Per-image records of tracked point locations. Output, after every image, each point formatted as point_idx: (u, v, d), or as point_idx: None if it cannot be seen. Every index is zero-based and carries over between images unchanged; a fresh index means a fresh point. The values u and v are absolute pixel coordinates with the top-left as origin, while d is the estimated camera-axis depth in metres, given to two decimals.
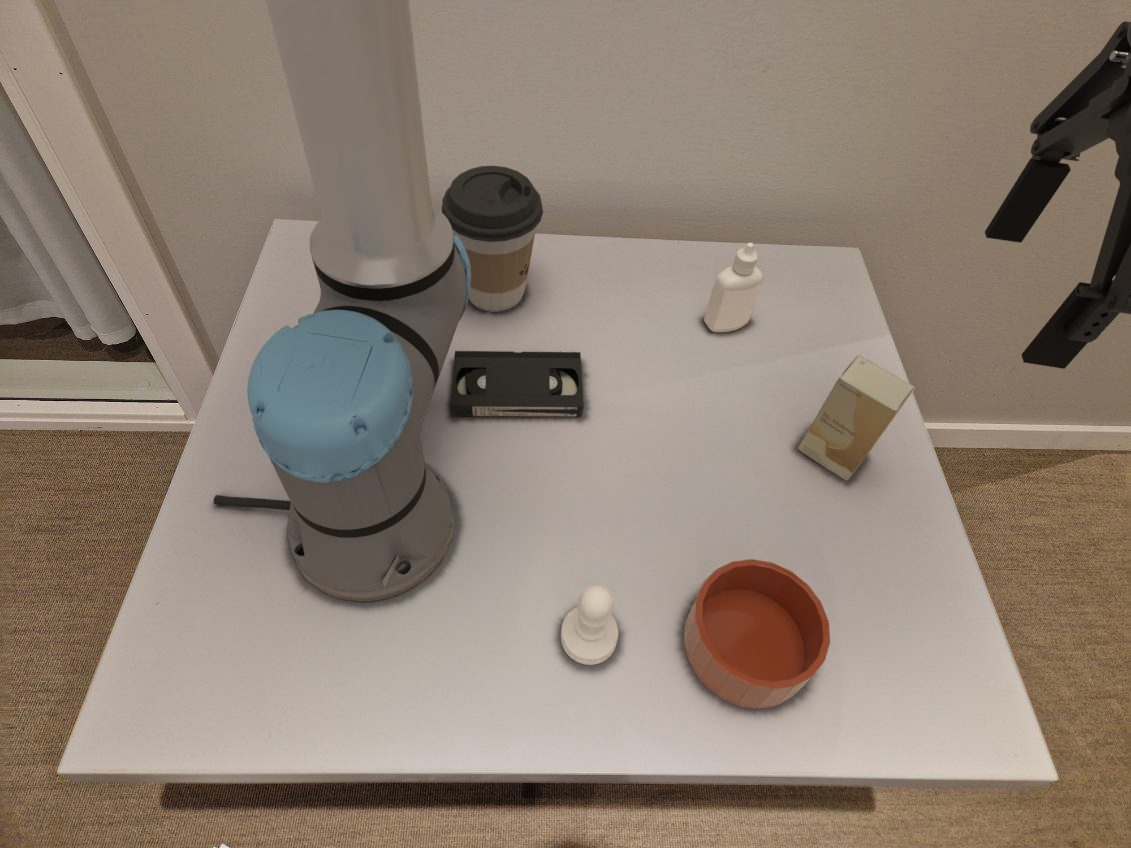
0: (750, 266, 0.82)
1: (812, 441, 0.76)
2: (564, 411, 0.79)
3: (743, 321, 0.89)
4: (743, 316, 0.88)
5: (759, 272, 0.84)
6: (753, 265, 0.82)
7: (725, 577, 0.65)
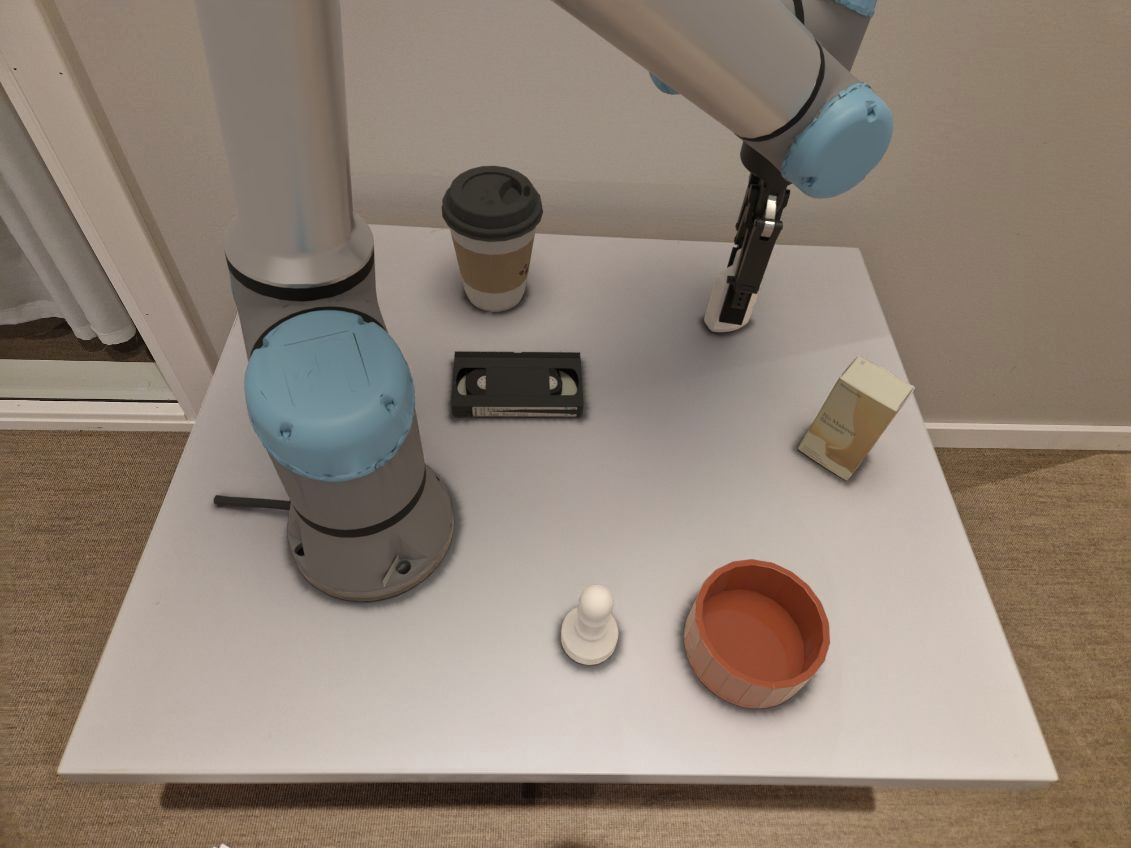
0: None
1: (812, 441, 0.76)
2: (564, 411, 0.79)
3: (743, 321, 0.89)
4: None
5: None
6: None
7: (725, 577, 0.65)
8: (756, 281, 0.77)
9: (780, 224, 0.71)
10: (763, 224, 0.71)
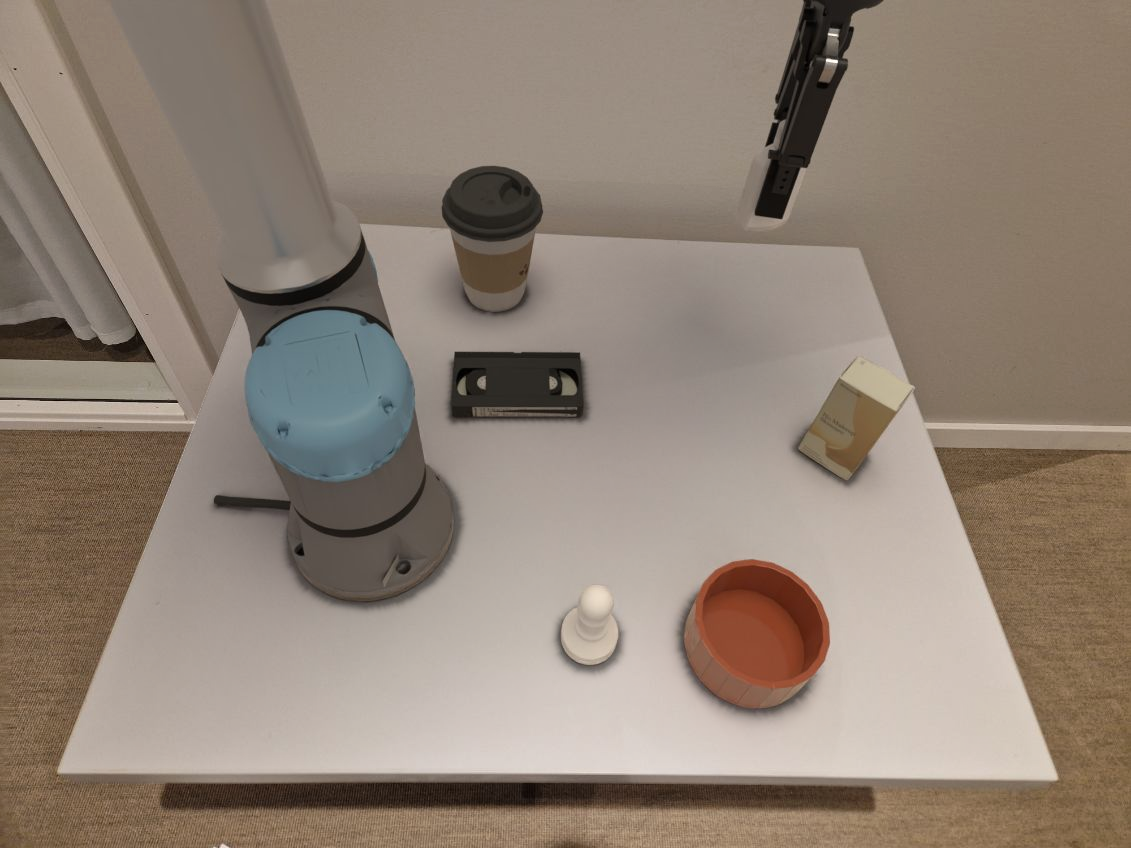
0: None
1: (812, 441, 0.76)
2: (564, 411, 0.79)
3: (782, 218, 0.74)
4: None
5: None
6: None
7: (725, 577, 0.65)
8: (807, 148, 0.62)
9: (845, 62, 0.56)
10: (824, 63, 0.56)
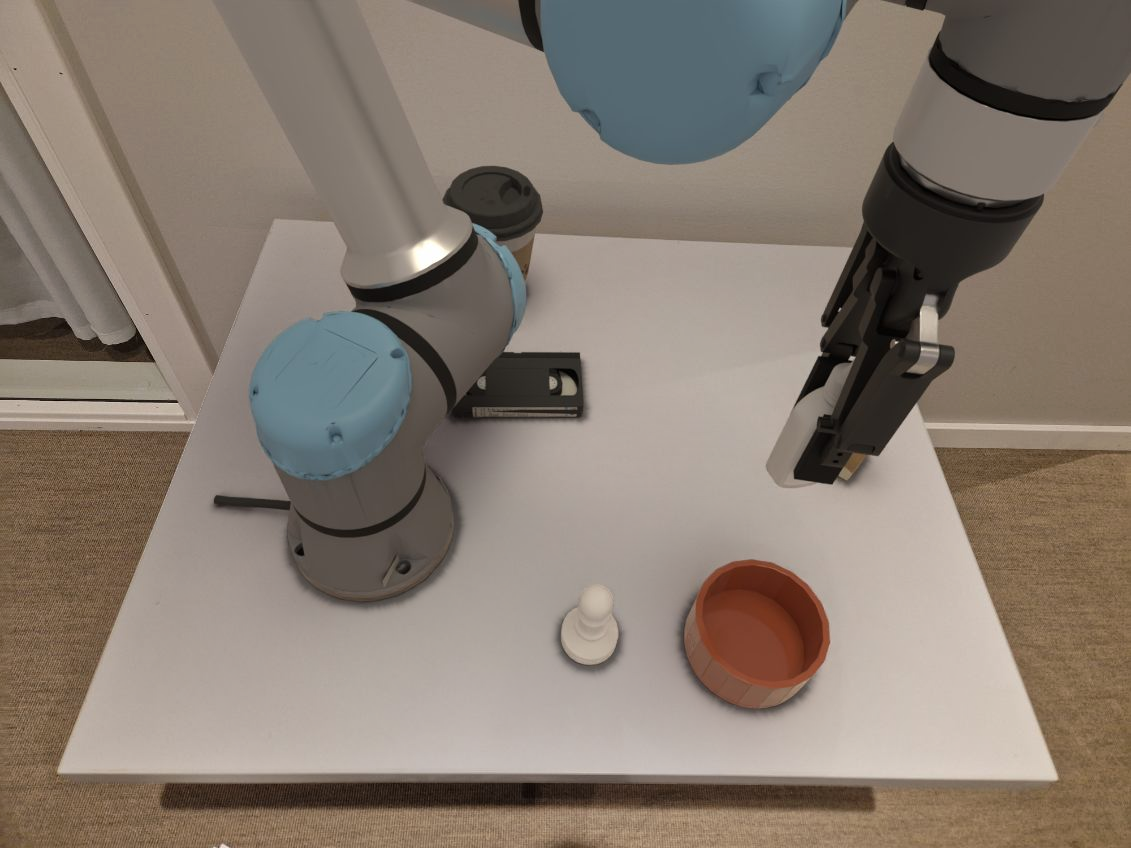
0: None
1: None
2: (564, 411, 0.79)
3: None
4: None
5: None
6: None
7: (725, 577, 0.65)
8: (880, 438, 0.42)
9: (951, 354, 0.36)
10: (917, 355, 0.36)
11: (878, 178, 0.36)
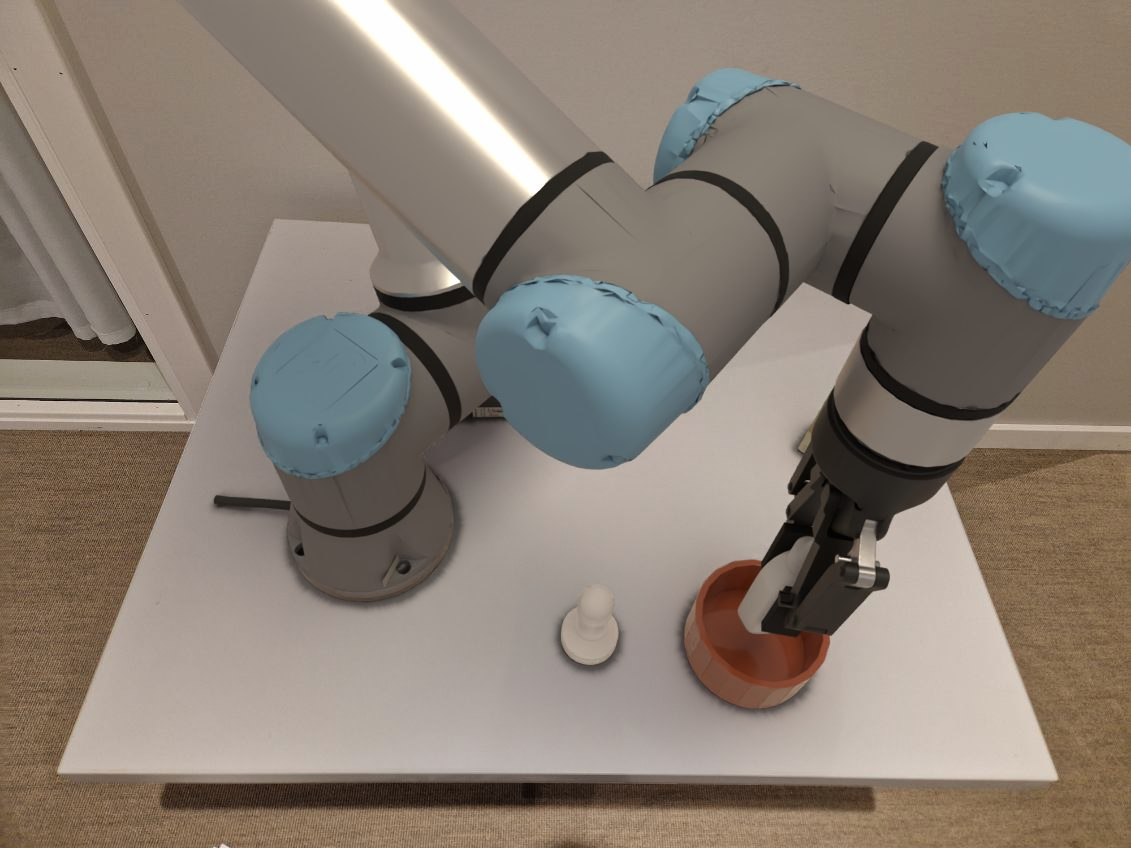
0: None
1: None
2: None
3: None
4: None
5: None
6: None
7: (725, 577, 0.65)
8: (831, 625, 0.46)
9: (886, 578, 0.40)
10: (856, 578, 0.40)
11: (822, 420, 0.40)
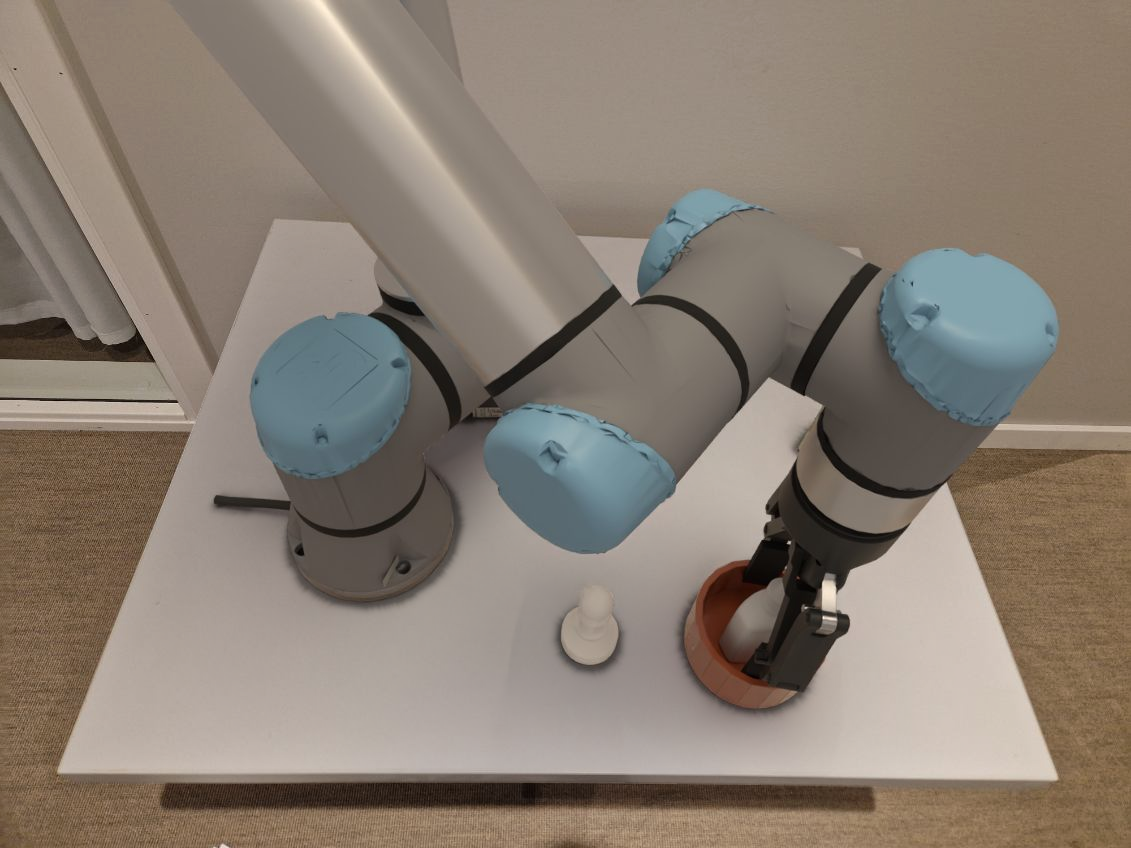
0: None
1: None
2: None
3: None
4: None
5: None
6: None
7: (725, 577, 0.65)
8: (802, 679, 0.50)
9: (846, 623, 0.45)
10: (820, 622, 0.45)
11: (787, 485, 0.45)
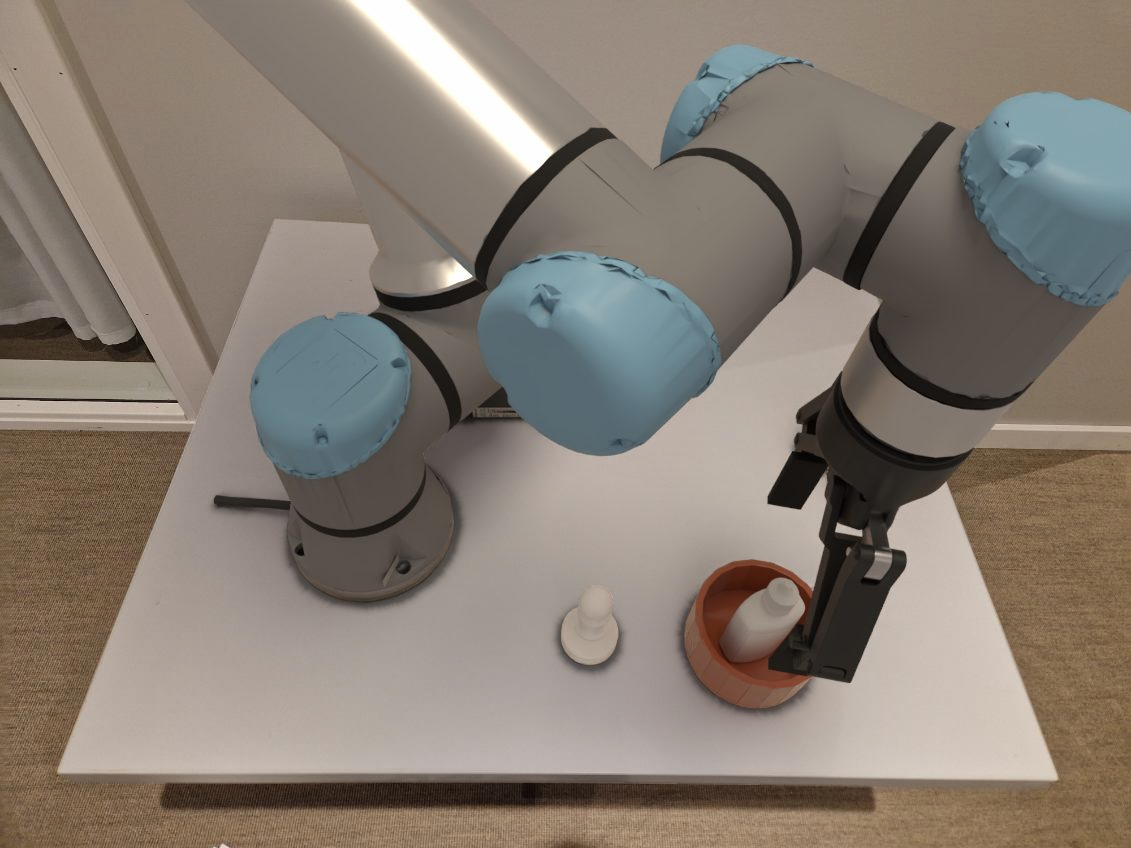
0: (788, 609, 0.56)
1: None
2: None
3: (774, 648, 0.63)
4: (775, 646, 0.62)
5: (800, 604, 0.59)
6: (792, 606, 0.56)
7: (725, 577, 0.65)
8: (850, 659, 0.42)
9: (903, 556, 0.38)
10: (873, 556, 0.38)
11: (828, 409, 0.39)
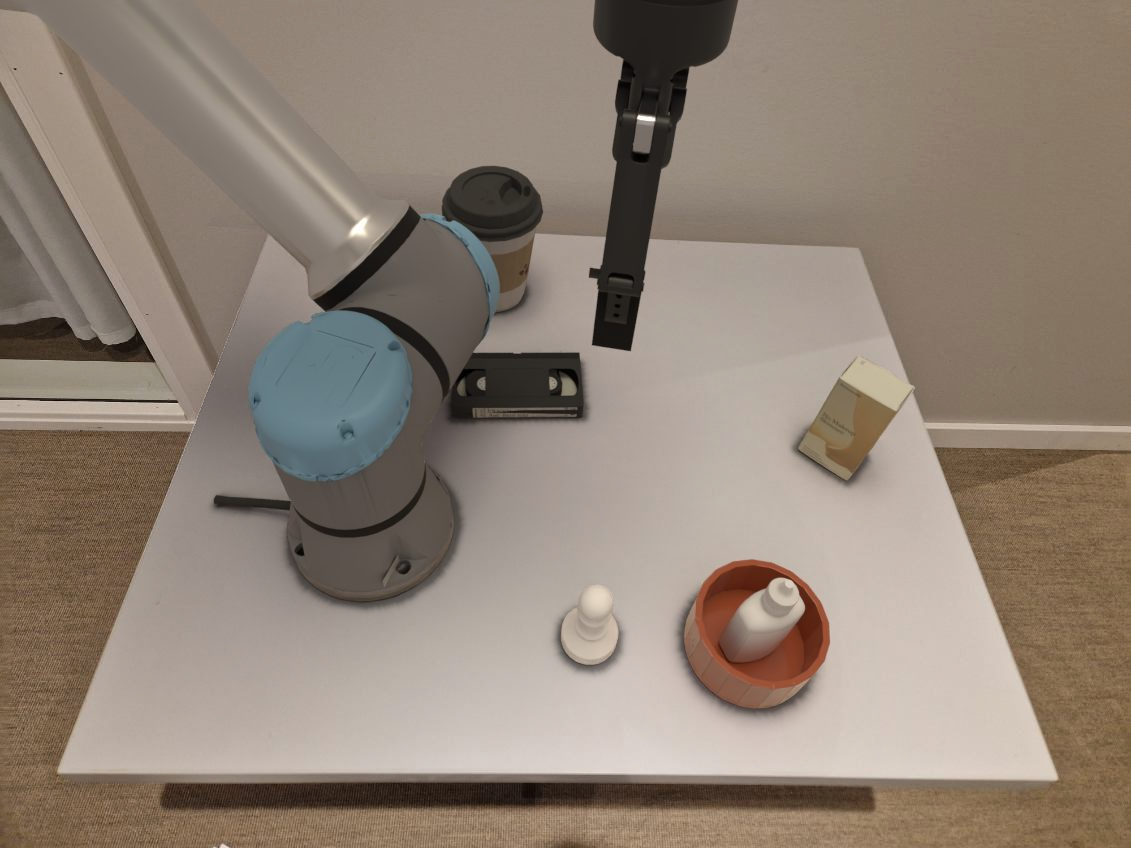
0: (788, 609, 0.56)
1: (812, 441, 0.76)
2: (564, 411, 0.79)
3: (774, 648, 0.63)
4: (775, 646, 0.62)
5: (800, 604, 0.59)
6: (792, 606, 0.56)
7: (725, 577, 0.65)
8: (635, 262, 0.41)
9: (666, 116, 0.37)
10: (635, 116, 0.37)
11: None
